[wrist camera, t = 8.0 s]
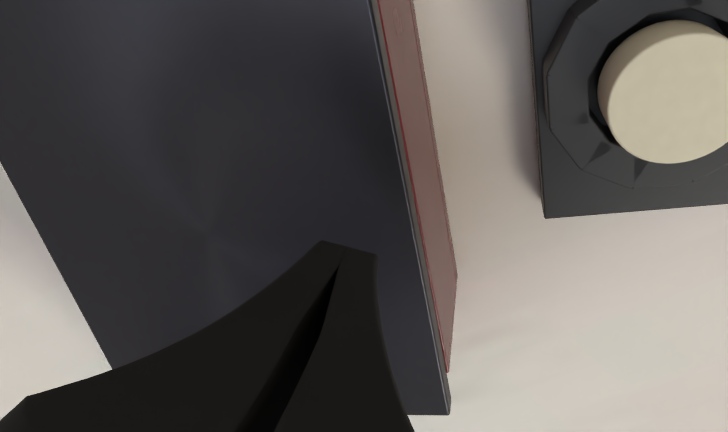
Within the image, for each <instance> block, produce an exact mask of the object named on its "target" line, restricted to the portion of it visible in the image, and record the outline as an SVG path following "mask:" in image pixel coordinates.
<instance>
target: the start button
mask: <svg viewBox="0 0 728 432" xmlns="http://www.w3.org/2000/svg"><path fill="white" fill-rule="evenodd" d="M597 96H598V103H599V107H600V110H601V112H602V115H603V117H604V119H605V121H606V123H607V125H608V127H609V129H610V131H611V133H612V134H613V136H614V138H615V139H616V141H617V142H618V143H619V144H620V145H621V147H623V148H624V149H625V150H626V151H627V152H629V153H631V154H632V155H634V156H636V157H638V158H640V159H643V160H646V161H649V162H655V163H666V164H670V163H681V162H687V161H691V160H694V159H697V158H700V157H703V156H705V155H707V154H709V153H711V152H713V151H715V150H717V149H718V148H720V147H721V146H723V145H724V144H725V143H727V142H728V38H726V37H725V36H723V35H722V34H720V33H718V32H717V31H715V30H713V29H712V28H710V27H708V26H706V25H704V24H701V23H698V22H694V21H689V20H669V21H663V22H658V23H655V24H652V25H649V26H647V27H645V28H642V29H640V30H638V31H637V32H635V33H634V34H632V35H630V36H629V37H628V38H626V39H625V40H624V41H623V42H622V43H621V44H620V45H619V46H618V47H617V48H616V49H615V50H614V51H613V52H612V54H611V55H610V56H609V58H608V59H607V61H606V63H605V65H604V67H603V69H602V71H601V74H600V77H599V81H598V88H597Z"/></svg>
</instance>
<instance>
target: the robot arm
mask: <svg viewBox="0 0 728 432" xmlns="http://www.w3.org/2000/svg"><path fill="white" fill-rule="evenodd" d="M379 261H380V259H379V258H378V256H377V255H376V254H374V253H370V252H366V251H362V250H359V249H355V248H351V247H347V246H343V245H339V244H336V243H332V242H328V241H324V240H321V241H319V242H317V243H316V244H315V245H314V246H313V247H312V248H311V249H310V250H309V251H308V252H307V253H306V254H305V255H303V256H302V257H301V258H300V259H299V260H298V261H297V262H296V263H295V264H293V265H292V266H291V267H290V268H289V269H288V270H286V271H285V272H284V273H283V274H281V275H280V276H279V277H278V278H276V279H275V280H274V281H273V282H271V283H270V284H269V285H268V286H266V287H265V288H264V289H262V290H261V291H260V292H258V293H257V294H256V295H254V296H253V297H251V298H250V299H248V300H247V301H246V302H244V303H243V304H241V305H240V306H238V307H237V308H235V309H234V310H232V311H231V312H229V313H228V314H226V315H225V316H223V317H221V318H220V319H218V320H216V321H215V322H213V323H211V324H210V325H208V326H206V327H204V328H203V329H201V330H199V331H197V332H195V333H194V334H192V335H190V336H188V337H186V338H184V339H182V340H180V341H178V342H176V343H174V344H172V345H170V346H168V347H166V348H164V349H161V350H159V351H157V352H155V353H153V354H150V355H148V356H146V357H143V358H141V359H138V360H136V361H133V362H131V363H128V364H126V365H123V366H121V367H118V368H115V369H113V370H110V371H107V372H105V373H102V374H99V375H96V376H93V377H90V378H87V379H84V380H81V381H77V382H74V383H71V384H67V385H64V386H61V387H57V388H54V389H51V390H48V391H44V392H41V393H37V394H34V395H30V396H27V397H25V398H24V399H23V400H22V401H21V402H20V403H19V404H18V405H17V406H16V407H15V408H14V409H12V410H11V411H10V412H9V413H8V414H7V415H6V416H5V417H3V418H2V419H1V421H0V432H414V429H413V427H412V425H411V423H410V420H409V418H408V416H407V413H406V411H405V408H404V405H403V402H402V399H401V397H400V394H399V391H398V388H397V385H396V382H395V379H394V375H393V372H392V369H391V365H390V361H389V357H388V353H387V349H386V345H385V340H384V335H383V330H382V325H381V318H380V311H379V303H378V290H377V272H378V265H379Z"/></svg>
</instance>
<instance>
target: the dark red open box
mask: <svg viewBox="0 0 728 432" xmlns="http://www.w3.org/2000/svg"><path fill="white" fill-rule="evenodd" d="M377 3H378V9H379V14H380V19H381V25H382V30H383V36H384V41H385V46H386V52H387V57H388V62H389V68H390V73H391V78H392V84H393V89H394V95H395V100H396V105H397V111H398V116H399V121H400V127H401V132H402V137H403V143H404V148H405V154H406V159H407V164H408V170H409V175H410V180H411V186H412V191H413V197H414V202H415V207H416V213H417V218H418V223H419V229H420V234H421V239H422V245H423V250H424V256H425V261H426V266H427V272H428V277H429V282H430V288H431V293H432V299H433V304H434V309H435V315H436V320H437V325H438V331H439V336H440V341H441V347H442V352H443V358H444V363H445V368H446V373H448V372H449V366H450V355H451V343H452V332H453V321H454V309H455V298H456V287H457V286H456V284H457V270H456V264H455V258H454V251H453V245H452V239H451V233H450V227H449V220H448V214H447V208H446V202H445V196H444V190H443V183H442V177H441V171H440V165H439V159H438V153H437V146H436V140H435V134H434V128H433V122H432V116H431V109H430V103H429V97H428V91H427V85H426V78H425V72H424V66H423V60H422V54H421V48H420V41H419V35H418V29H417V23H416V17H415V11H414V4H413V0H377Z"/></svg>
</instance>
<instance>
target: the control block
mask: <svg viewBox="0 0 728 432" xmlns="http://www.w3.org/2000/svg"><path fill="white" fill-rule="evenodd" d="M527 3H528V18H529V32H530V46H531V60H532V74H533V88H534V102H535V117H536V131H537V145H538V159H539V173H540V187H541V201H542V207H543V213H544V218H546V219H548V218H560V217H573V216H585V215H597V214H609V213H621V212H633V211H645V210H657V209H670V208H682V207H694V206H706V205H718V204H728V142H727V143H725V144H724V145H723V146H721V147H720V148H718V149H717V150H715V151H713V152H711V153H709V154H707V155H705V156H703V157H700V158H697V159H694V160H691V161H687V162H681V163H670V164H666V163H655V162H649V161H646V160H643V159H640V158H638V157H636V156H634V155H632V154H631V153H629V152H627V151H626V150H625V149H624V148H623V147H621V145H620V144H619V143H618V142H617V141H616V139H615V138H614V136H613V134H612V133H611V131H610V129H609V127H608V125H607V123H606V121H605V119H604V117H603V115H602V112H601V110H600V107H599V103H598V96H597V88H598V81H599V77H600V74H601V71H602V69H603V67H604V65H605V63H606V61H607V59H608V58H609V56H610V55H611V54H612V52H613V51H614V50H615V49H616V48H617V47H618V46H619V45H620V44H621V43H622V42H623V41H624V40H625V39H626V38H628V37H629V36H630V35H632V34H634V33H635V32H637V31H638V30H640V29H642V28H645V27H647V26H649V25H652V24H655V23H658V22H663V21H669V20H689V21H694V22H698V23H701V24H704V25H706V26H708V27H710V28H712V29H713V30H715V31H717V32H718V33H720V34H722V35H723V36H725V37H726V38H728V0H527Z"/></svg>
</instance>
